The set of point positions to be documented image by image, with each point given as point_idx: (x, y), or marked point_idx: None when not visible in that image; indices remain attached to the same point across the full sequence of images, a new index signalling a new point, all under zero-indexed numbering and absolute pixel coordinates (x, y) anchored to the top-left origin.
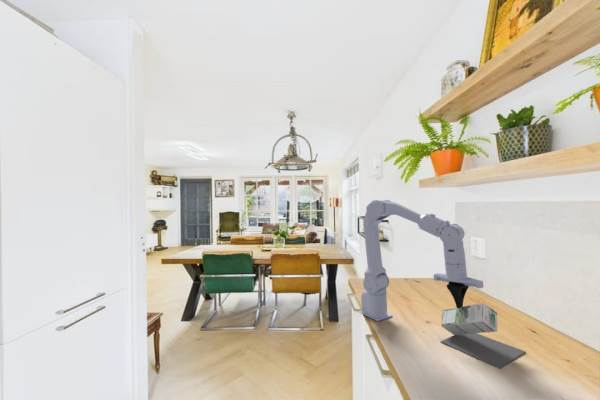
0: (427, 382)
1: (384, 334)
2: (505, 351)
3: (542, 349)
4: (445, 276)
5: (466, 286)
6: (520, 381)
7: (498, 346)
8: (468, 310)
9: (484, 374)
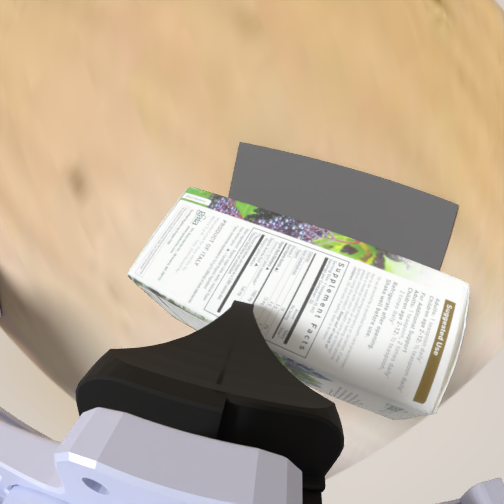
0: None
1: (68, 383)
2: (410, 255)
3: (486, 139)
4: (4, 487)
5: (319, 474)
6: None
7: (388, 229)
8: (318, 380)
9: (361, 412)
